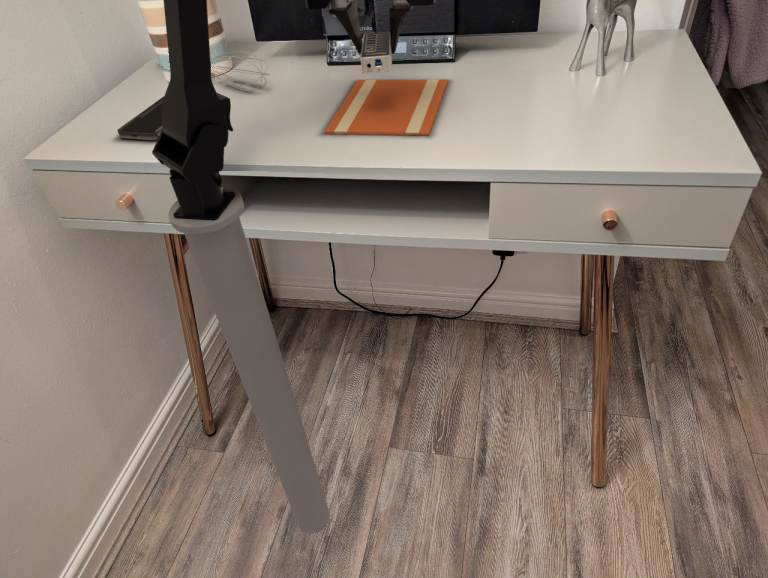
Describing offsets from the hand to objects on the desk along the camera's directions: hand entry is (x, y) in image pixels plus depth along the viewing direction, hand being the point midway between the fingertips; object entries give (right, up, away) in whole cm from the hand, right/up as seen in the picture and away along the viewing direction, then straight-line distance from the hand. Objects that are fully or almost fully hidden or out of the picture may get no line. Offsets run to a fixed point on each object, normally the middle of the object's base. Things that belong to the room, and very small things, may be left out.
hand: (377, 53), depth 88 cm
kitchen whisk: (-32, +4, +23) cm, 40 cm away
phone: (-36, -7, +9) cm, 38 cm away
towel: (+2, -6, +5) cm, 9 cm away
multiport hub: (0, -1, +1) cm, 1 cm away
